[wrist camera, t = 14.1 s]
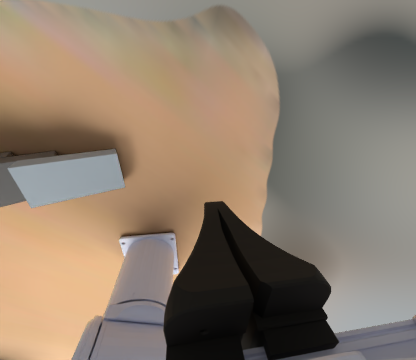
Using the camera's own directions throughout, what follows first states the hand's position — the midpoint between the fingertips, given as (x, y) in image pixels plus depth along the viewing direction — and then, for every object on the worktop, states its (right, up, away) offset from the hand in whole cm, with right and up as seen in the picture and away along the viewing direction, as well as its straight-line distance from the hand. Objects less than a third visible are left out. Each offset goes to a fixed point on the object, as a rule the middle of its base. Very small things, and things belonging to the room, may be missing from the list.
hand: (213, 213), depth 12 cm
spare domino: (-10, +4, +7) cm, 13 cm away
